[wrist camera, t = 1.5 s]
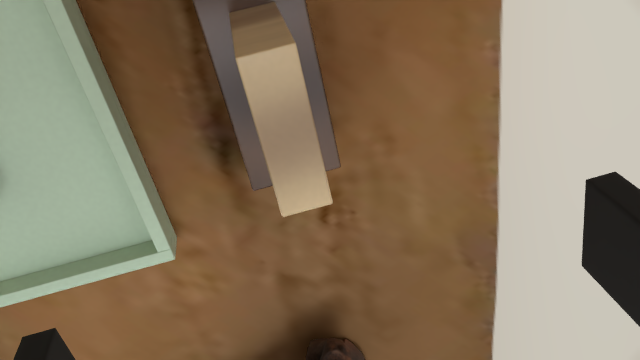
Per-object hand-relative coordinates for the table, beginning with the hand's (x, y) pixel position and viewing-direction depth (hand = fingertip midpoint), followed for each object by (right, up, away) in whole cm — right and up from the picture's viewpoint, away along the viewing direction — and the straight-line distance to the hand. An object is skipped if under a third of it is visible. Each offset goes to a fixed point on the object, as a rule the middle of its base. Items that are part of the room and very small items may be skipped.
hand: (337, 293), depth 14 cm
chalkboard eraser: (-4, +10, +16) cm, 19 cm away
